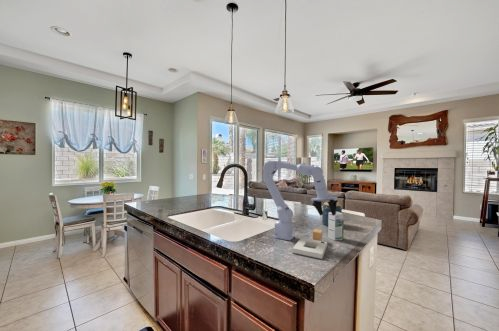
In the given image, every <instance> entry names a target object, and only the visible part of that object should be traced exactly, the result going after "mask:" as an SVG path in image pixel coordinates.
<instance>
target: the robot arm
mask: <svg viewBox="0 0 499 331" xmlns="http://www.w3.org/2000/svg"><path fill="white" fill-rule="evenodd" d="M281 169H285V170H292V171H296V172H297V174H299V175H304V176H309V177H312V179H313V186H314V188H315V192H316V197H313V198H311V199H310V200H311V203H312V206H313V207H314V208H315V209H316V212H317V213H318V214H319V216H322V215H323V208H322V206H323V205H322V202H327V201H329V202H327V203H328V204H329V206H330V209H331V213H332V215H335V214H336V204H337V202H338V196H337V195H329V192H328V187H327V184H326V183H327V182H326V179H325V176H324V170H323V169H322V167H320V166H315V165H314V164H312V165H311V164H306V163H305V162H302V163H299V164H295V163H290V162H285V161H279V160H277V161H275V160H267V161H265V162H264V165H263V166H262V170H263V173H262V174H263V176H262V179H263V181H264V184H265V186H266V187H267V189H268V191H269V194H270V195H271V196H270V197H272V200H273V201H274V204H275V206H276V211H277V214H278V220H276V221H275V222H274V231H273V232H274V236H273V238H274V239H279V240H280V239H281V240H287V241H292V240H293V238H294V237H295V235H294V234H293V219H292V218H293V216H294V212H293V210H292V209H291V208H290V207H289V205H288V204H287V203H286V202H285V200H284V198H283V196H282V194H281V192H280V190H279V188H278V186H277V185H276V184H277V183H276V182H275V180H274V176H275V173H277V171H278V170H281Z"/></svg>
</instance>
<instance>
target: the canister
mask: <svg viewBox="0 0 499 331" xmlns="http://www.w3.org/2000/svg"><path fill="white" fill-rule="evenodd" d="M327 202H329V201H324V203H323V205H322V211H323V215H321V218H322V219H321V224H322V225H323V226H325V227H328V213H329V212H331V209H330V206H329V204H328V203H327ZM342 211H343V207H342V204H341V203H339V202H338V201H337V204H336V212H340V213H343V212H342Z"/></svg>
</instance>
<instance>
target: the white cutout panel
mask: <svg viewBox="0 0 499 331" xmlns="http://www.w3.org/2000/svg"><path fill="white" fill-rule="evenodd" d="M327 249H328V242H327V241H323V240H322V241H317V240H313V238H312V239H310V238H305V237H300V239H299V240H298V241H297V242H296V243H295V245H294V246H293V247H292V254H294V255H298V256H303V257H307V258H308V257H309V258H313V259H317V260H323V258H324V256H325V254H326V251H327Z"/></svg>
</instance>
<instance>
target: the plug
mask: <svg viewBox="0 0 499 331" xmlns="http://www.w3.org/2000/svg"><path fill="white" fill-rule="evenodd" d="M312 240H317V241H323V229H319V228H314V229H313V230H312Z"/></svg>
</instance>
